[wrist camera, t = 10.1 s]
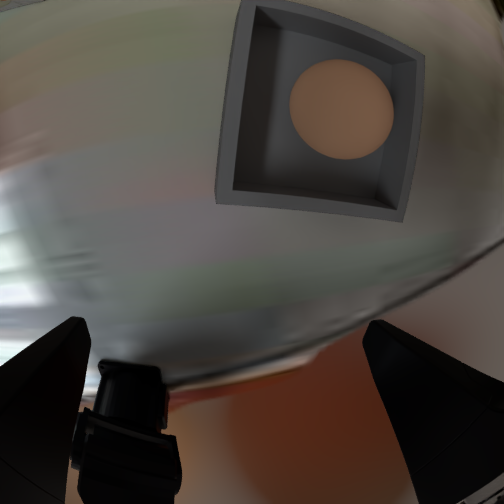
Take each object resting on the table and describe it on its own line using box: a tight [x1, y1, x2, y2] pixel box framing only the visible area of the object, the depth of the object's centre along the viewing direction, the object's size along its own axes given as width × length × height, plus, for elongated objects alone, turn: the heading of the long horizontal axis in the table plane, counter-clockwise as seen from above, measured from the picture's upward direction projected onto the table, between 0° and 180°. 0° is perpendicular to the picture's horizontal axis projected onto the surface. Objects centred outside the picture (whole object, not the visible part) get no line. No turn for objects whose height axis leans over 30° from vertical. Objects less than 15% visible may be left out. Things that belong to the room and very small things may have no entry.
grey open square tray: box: [215, 0, 425, 222], centre depth 15 cm, size 13×13×4 cm
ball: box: [289, 59, 394, 160], centre depth 13 cm, size 6×6×6 cm
